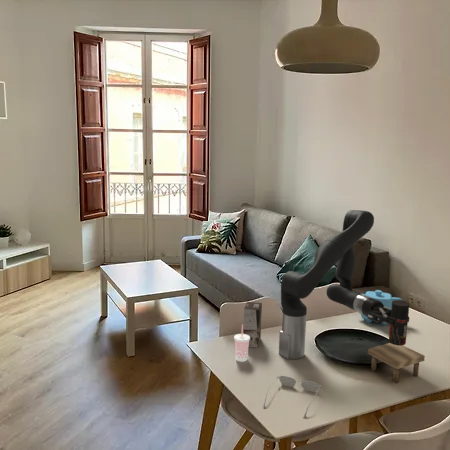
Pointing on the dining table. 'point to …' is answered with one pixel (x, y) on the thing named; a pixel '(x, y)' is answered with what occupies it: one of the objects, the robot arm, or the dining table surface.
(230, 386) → the dining table surface
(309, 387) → the eyeglasses
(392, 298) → the teapot
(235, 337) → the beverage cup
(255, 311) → the coffee box
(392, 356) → the stool
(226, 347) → the dining table surface
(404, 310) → the deodorant
